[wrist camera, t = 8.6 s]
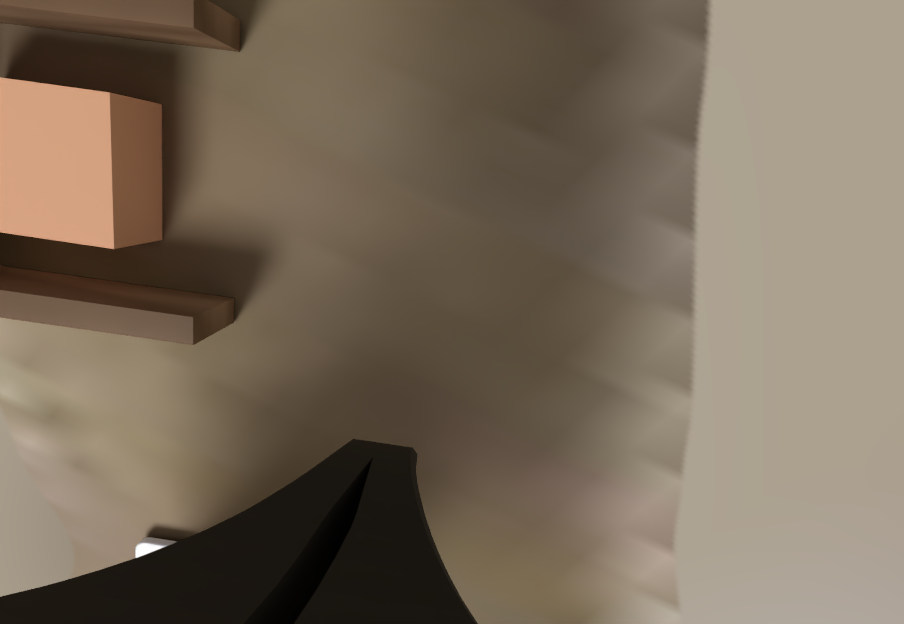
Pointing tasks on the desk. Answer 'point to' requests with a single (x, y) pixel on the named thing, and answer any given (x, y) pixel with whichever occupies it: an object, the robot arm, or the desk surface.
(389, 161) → the desk surface
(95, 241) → the salmon pink block
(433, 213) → the desk surface
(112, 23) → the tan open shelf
